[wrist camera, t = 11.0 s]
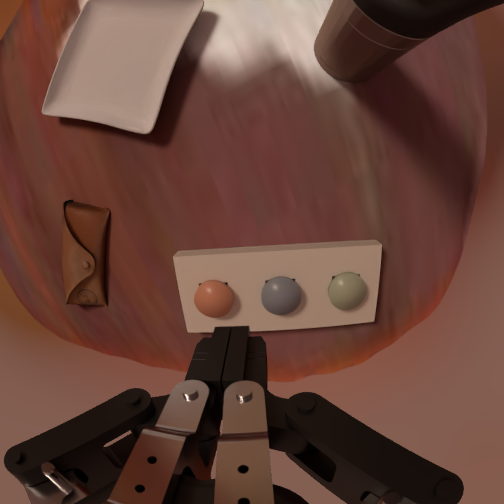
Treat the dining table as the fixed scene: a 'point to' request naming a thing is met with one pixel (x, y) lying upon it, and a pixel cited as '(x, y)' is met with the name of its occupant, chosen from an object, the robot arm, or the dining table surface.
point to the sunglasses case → (84, 253)
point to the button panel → (273, 265)
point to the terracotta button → (213, 298)
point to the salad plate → (120, 61)
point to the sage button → (346, 290)
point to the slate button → (281, 295)
